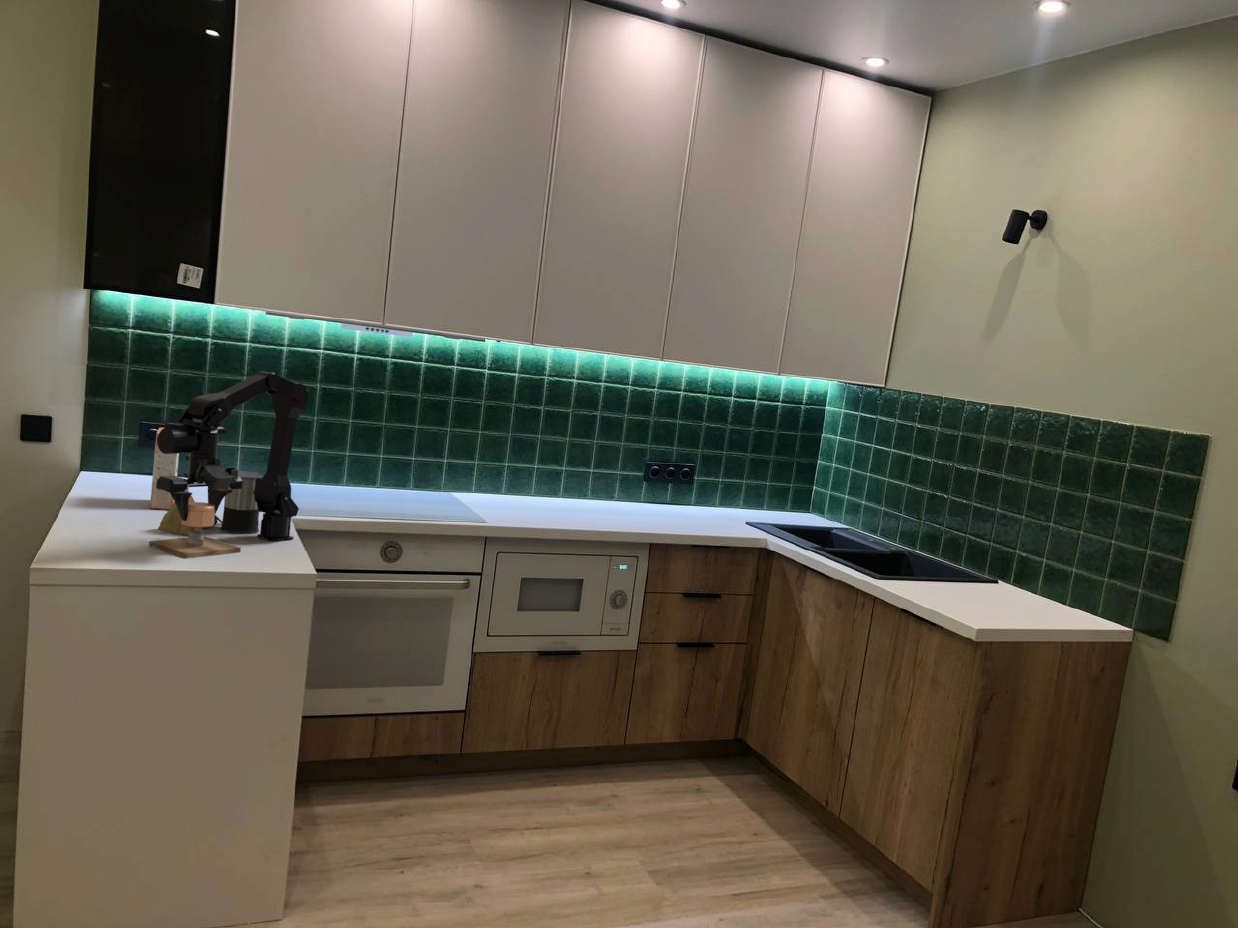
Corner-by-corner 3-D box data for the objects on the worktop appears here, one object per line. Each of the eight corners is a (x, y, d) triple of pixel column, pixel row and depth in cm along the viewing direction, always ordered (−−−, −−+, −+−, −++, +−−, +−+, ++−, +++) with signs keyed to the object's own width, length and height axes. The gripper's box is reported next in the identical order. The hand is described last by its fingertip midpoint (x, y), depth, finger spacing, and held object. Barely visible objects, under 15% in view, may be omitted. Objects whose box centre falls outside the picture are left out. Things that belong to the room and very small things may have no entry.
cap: (201, 520, 233) (203, 501, 233) (219, 525, 230) (220, 506, 229) (176, 522, 227) (177, 503, 227) (193, 527, 224) (195, 508, 224)
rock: (215, 528, 243) (204, 514, 251) (196, 501, 239) (186, 488, 246) (175, 553, 239) (165, 539, 247) (155, 527, 235) (145, 513, 242)
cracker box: (173, 510, 268) (179, 434, 266) (149, 509, 266) (154, 432, 264) (175, 501, 281) (181, 428, 279) (152, 500, 279) (158, 426, 277)
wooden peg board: (203, 539, 239) (204, 523, 238) (240, 551, 231) (241, 535, 231) (149, 545, 227) (150, 528, 226) (186, 558, 220) (187, 540, 219)
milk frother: (264, 534, 254) (269, 477, 253) (202, 535, 243) (207, 476, 242) (242, 522, 264) (247, 467, 263) (181, 524, 254) (186, 466, 252)
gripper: (187, 459, 215) (182, 529, 216) (260, 457, 231) (254, 523, 232) (157, 451, 221) (152, 519, 222) (229, 450, 236) (224, 514, 238)
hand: (197, 519), depth 228 cm, fingers closed on cap, 7 cm apart
